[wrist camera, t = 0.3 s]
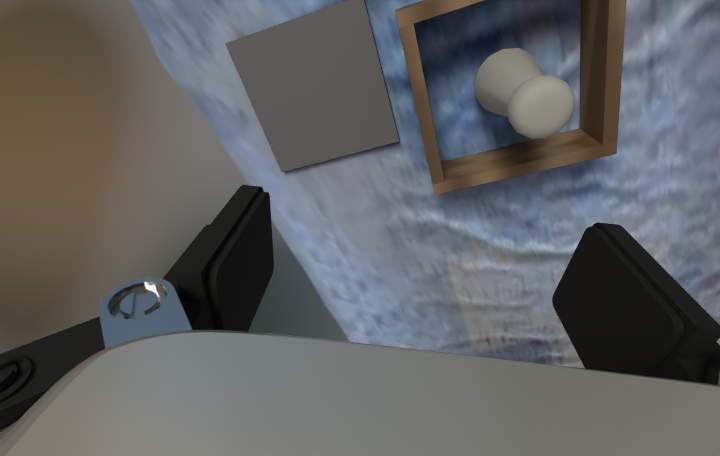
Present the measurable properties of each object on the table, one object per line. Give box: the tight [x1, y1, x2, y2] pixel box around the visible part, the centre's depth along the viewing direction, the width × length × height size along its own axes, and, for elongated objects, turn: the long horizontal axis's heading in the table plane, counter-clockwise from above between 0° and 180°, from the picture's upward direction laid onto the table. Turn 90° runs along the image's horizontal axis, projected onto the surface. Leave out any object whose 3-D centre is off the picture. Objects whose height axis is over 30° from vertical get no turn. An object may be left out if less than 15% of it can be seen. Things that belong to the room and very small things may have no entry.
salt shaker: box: [474, 48, 575, 139], centre depth 31 cm, size 6×6×13 cm
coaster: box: [226, 0, 399, 172], centre depth 38 cm, size 14×14×1 cm
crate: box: [395, 0, 626, 195], centre depth 34 cm, size 17×17×5 cm
